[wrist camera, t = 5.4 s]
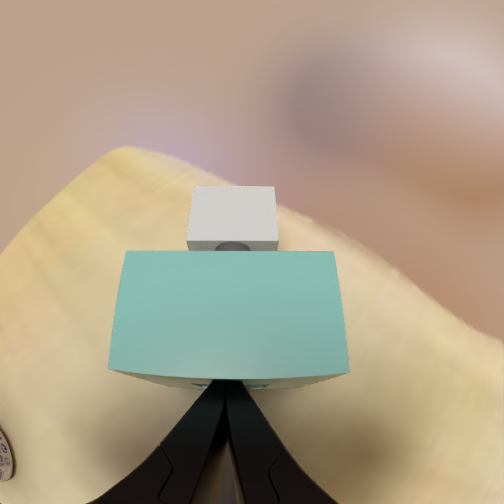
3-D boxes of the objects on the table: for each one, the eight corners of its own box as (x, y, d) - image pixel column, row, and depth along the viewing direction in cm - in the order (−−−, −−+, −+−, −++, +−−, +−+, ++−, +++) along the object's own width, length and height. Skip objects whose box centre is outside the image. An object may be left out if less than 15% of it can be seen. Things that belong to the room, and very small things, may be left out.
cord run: (294, 527, 11) (320, 575, 5) (180, 526, 10) (152, 573, 5) (283, 244, 21) (299, 179, 15) (186, 243, 20) (168, 179, 15)
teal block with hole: (297, 387, 14) (349, 372, 7) (170, 386, 14) (108, 369, 7) (294, 320, 16) (333, 251, 9) (174, 319, 16) (126, 250, 9)
